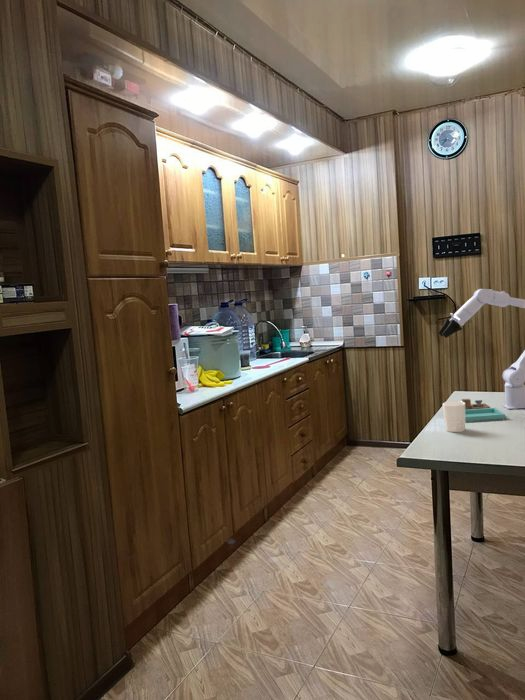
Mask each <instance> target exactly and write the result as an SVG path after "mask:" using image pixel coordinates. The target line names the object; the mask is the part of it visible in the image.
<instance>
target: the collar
mask: <svg viewBox="0 0 525 700" xmlns="http://www.w3.org/2000/svg"><path fill="white" fill-rule="evenodd" d="M461 402H465V410H468V409H483V408H491V406H490V405H488V404H486V402H485V403H481V407H476V403H473V404H472V403H471V402H472V401H471V399H470V398H461Z"/></svg>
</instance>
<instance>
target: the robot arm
mask: <svg viewBox="0 0 525 700" xmlns="http://www.w3.org/2000/svg"><path fill="white" fill-rule="evenodd" d="M485 304H488V305H491V306H497V307H501V308H506V307H507V306H513V307H518V308H522V309H525V299H523V298H517V297H511V296H510V294H509V293H506V291H505V290H501V291H497V290H493V288H492V289H491V288H490V289H489V288H479V289H476V290H475V291H474V292H473V296H471V297H470V298H469V299H468V300H467V301H466V302H465V303H464V304H463V305H462V306H461V307H459V309H458V310H456V311H455V313H453V312H450V313H449V315H450V317H451V318H450V319H449V318H445V320H444V323H443V324H442V326H441V328H440V330H439V331H438V334H439V335H440V337H444V338H445V339H447V338H448V337H450V336H452V335H453V334H455V333H456V332H458V331H463V328H462V327H463V326H464V325H465V324H466V322H468V321H469V320H470V319H471V318H472V317H473V316H474V315H475V314H476V313H477V312H478V311H479V310H480V309H481V308H482V307H483V306H484V305H485ZM461 326H462V327H461ZM502 380H503V381H504V382H505V383H504V397H505V403H503V404H502V405H501V406H502V407H504V408H506V409H507V410H515V409H525V384H524V383H525V349H524V350H523V352H521V354H520V356H519V358H518V359H517V360H516V361H515V362H514V363H512V364H511V365H510V366H509V367H508V368H507V369H505V370H504V371H503V372H502Z"/></svg>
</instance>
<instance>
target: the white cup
mask: <svg viewBox="0 0 525 700" xmlns="http://www.w3.org/2000/svg"><path fill="white" fill-rule="evenodd" d="M442 411H443V418H444V424H445V431H447V432H449V433H462V432H464V431H465V430H466V422H465V402H462V400H460V401H459V400H454V401H453V400H452V401H444V402H443V403H442Z"/></svg>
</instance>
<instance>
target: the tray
mask: <svg viewBox="0 0 525 700" xmlns="http://www.w3.org/2000/svg"><path fill="white" fill-rule="evenodd" d="M485 420H486V421H485ZM487 420H490V421H501V420H503V421H504V420H506V414H505V413H504V412H503V411H501V410H500V409H498V408H497V407H490V408H483V409H468V410H465V423H471V422H470V421H474V422H487Z"/></svg>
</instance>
